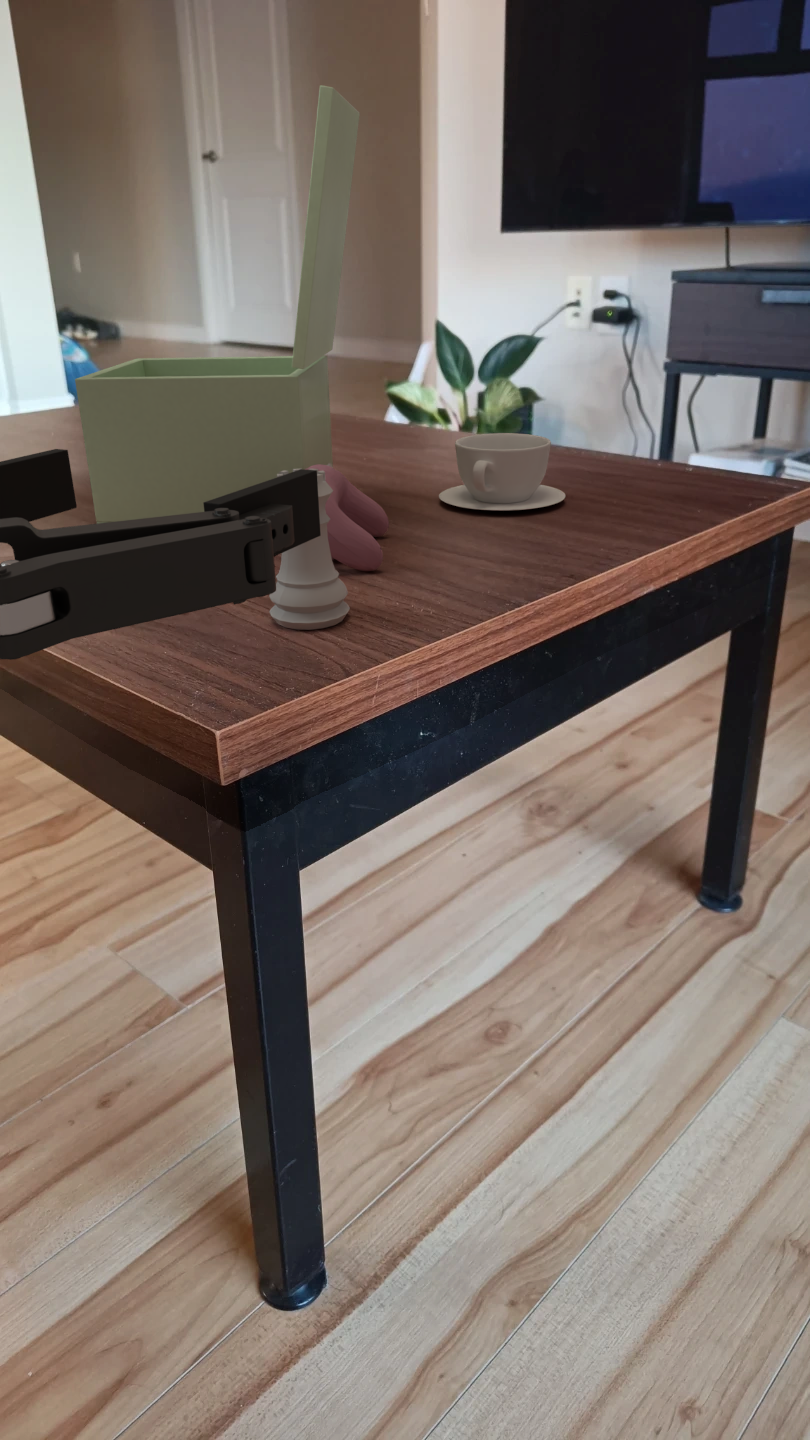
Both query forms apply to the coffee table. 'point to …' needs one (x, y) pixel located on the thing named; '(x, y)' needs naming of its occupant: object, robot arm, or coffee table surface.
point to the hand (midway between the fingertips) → (181, 489)
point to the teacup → (502, 473)
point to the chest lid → (325, 226)
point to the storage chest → (198, 430)
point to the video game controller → (352, 523)
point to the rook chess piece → (310, 578)
